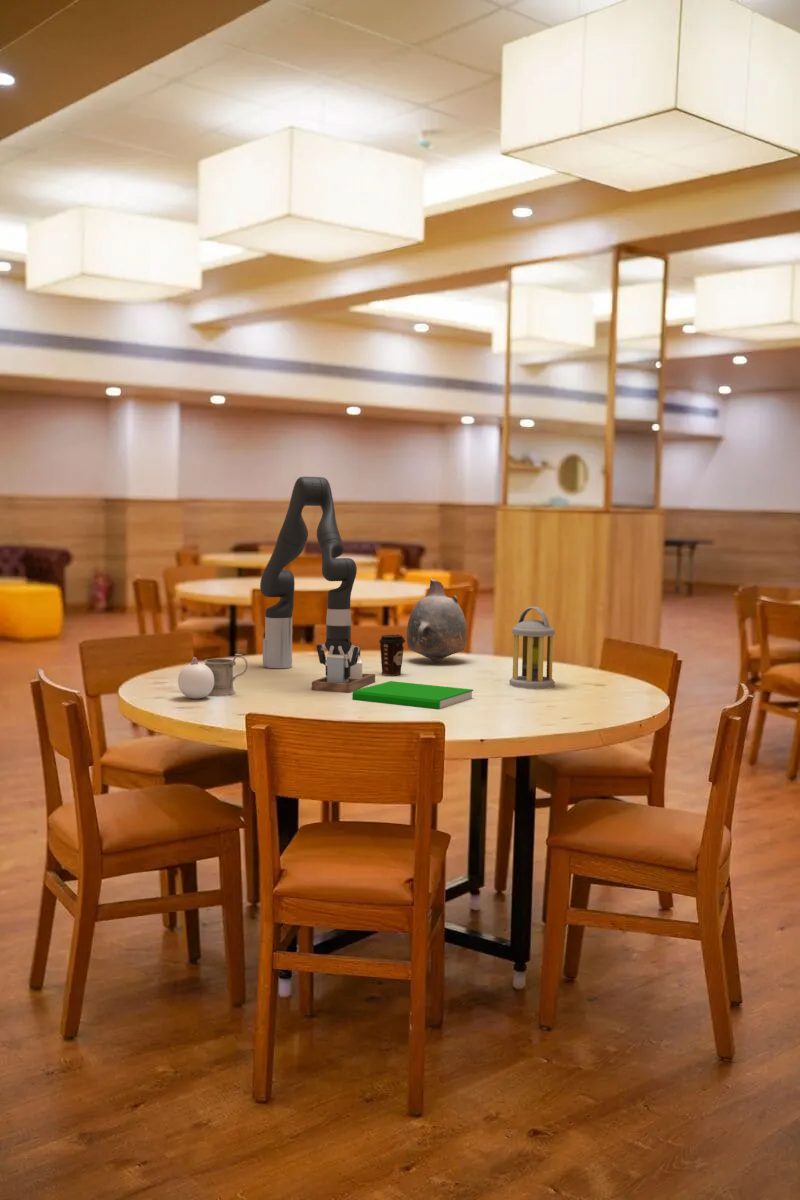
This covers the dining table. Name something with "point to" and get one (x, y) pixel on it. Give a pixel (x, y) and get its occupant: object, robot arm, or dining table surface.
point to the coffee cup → (391, 654)
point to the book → (412, 694)
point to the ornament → (196, 680)
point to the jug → (436, 625)
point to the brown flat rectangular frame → (343, 684)
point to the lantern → (533, 652)
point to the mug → (223, 675)
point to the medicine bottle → (355, 667)
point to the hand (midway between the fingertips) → (338, 678)
